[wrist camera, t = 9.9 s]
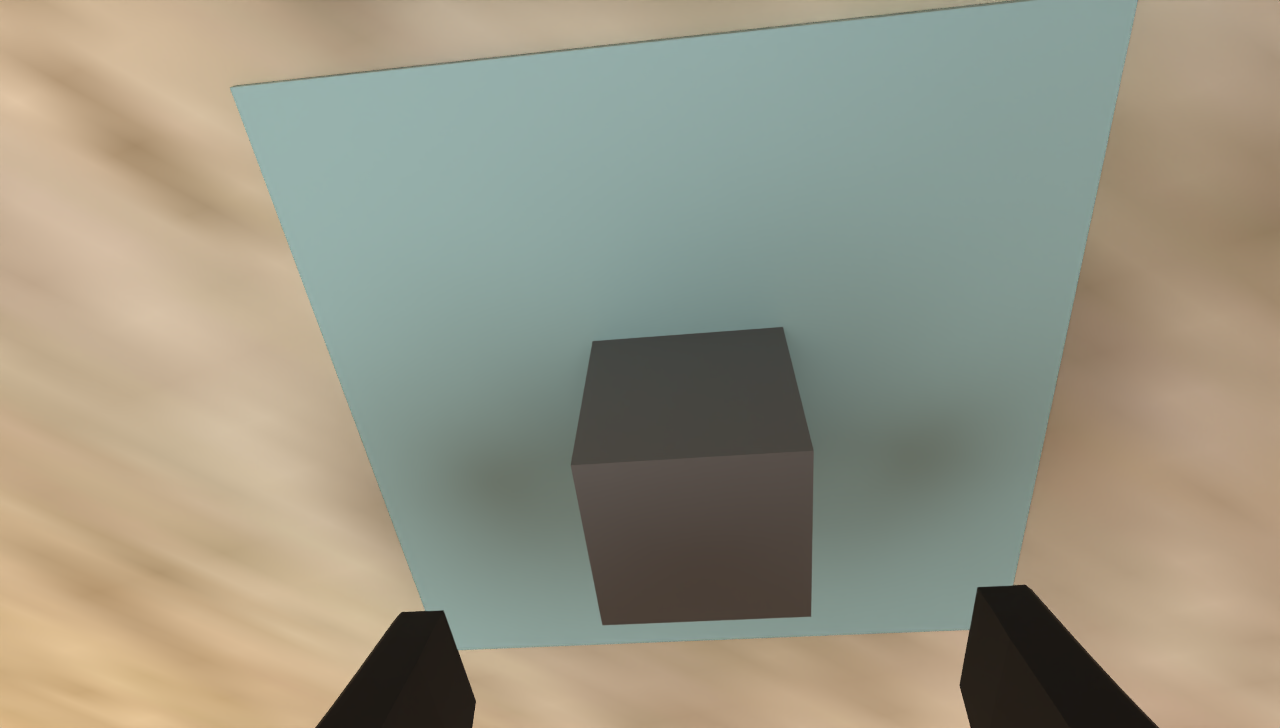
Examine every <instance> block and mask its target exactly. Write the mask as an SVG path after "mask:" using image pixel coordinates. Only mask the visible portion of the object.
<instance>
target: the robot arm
mask: <svg viewBox="0 0 1280 728" xmlns="http://www.w3.org/2000/svg"><path fill="white" fill-rule="evenodd" d="M960 689H961V693H962V696H963V700H964V704H965V708H966V712H967V715H968V719H969V723H970V727H971V728H1159V727H1158V726H1157V725H1156V724H1155V723H1154V722H1153V721H1152V720H1151V719H1150V718H1149V717H1148V716H1147V715H1146V714H1145V713H1144V712H1143V711H1142V710H1141V709H1140V708H1139V707H1138V706H1137V705H1136V704H1135V703H1134V702H1133V701H1132V700H1131V699H1130V697H1129V696H1128V695H1127V694H1126V693H1125V692H1124V691H1123V690H1122V689H1121V688H1120V687H1119V686H1118V685H1117V684H1116V683H1115V682H1114V681H1113V679H1112V678H1111V677H1110V676H1109V675H1108V674H1107V673H1106V672H1105V671H1104V670H1103V669H1102V667H1101V666H1100V665H1099V664H1098V663H1097V662H1096V661H1095V660H1094V659H1093V658H1092V657H1091V656H1090V654H1089V653H1088V652H1087V651H1086V650H1085V649H1084V648H1083V647H1082V646H1081V645H1080V643H1079V642H1078V641H1077V640H1076V639H1075V638H1074V637H1073V636H1072V635H1071V633H1070V632H1069V631H1068V630H1067V629H1066V628H1065V627H1064V626H1063V625H1062V623H1061V622H1060V621H1059V620H1058V619H1057V618H1056V617H1055V615H1054V614H1053V613H1052V612H1051V611H1050V610H1049V609H1048V608H1047V606H1046V605H1045V604H1044V603H1043V602H1042V601H1041V600H1040V599H1039V597H1038V596H1037V595H1036V594H1035V593H1034V592H1033V591H1032V590H1031V589H1030V588H1029V587H1028V586H1026V585H1013V586H990V587H977V592H976V597H975V603H974V608H973V614H972V619H971V625H970V631H969V636H968V642H967V647H966V653H965V658H964V664H963V669H962V675H961V680H960ZM475 704H476V700H475V697H474V695H473V692H472V689H471V686H470V683H469V680H468V678H467V675H466V672H465V669H464V666H463V663H462V661H461V658H460V655H459V652H458V649H457V646H456V644H455V641H454V638H453V635H452V632H451V629H450V627H449V624H448V621H447V618H446V615H445V613H444V610H439V611H416V612H401V613H400V614H399V615H398V616H397V618H396V619H395V620H394V621H393V623H392V624H391V626H390V627H389V628H388V630H387V631H386V632H385V634H384V635H383V637H382V638H381V639H380V641H379V642H378V644H377V645H376V646H375V648H374V649H373V651H372V652H371V653H370V655H369V656H368V657H367V659H366V660H365V662H364V663H363V664H362V666H361V667H360V669H359V670H358V671H357V673H356V674H355V675H354V677H353V678H352V679H351V681H350V682H349V684H348V685H347V686H346V688H345V689H344V690H343V692H342V693H341V694H340V696H339V697H338V698H337V700H336V701H335V703H334V704H333V705H332V707H331V708H330V709H329V711H328V712H327V713H326V714H325V716H324V717H323V718H322V720H321V721H320V722H319V724H318V725H317V726H316V727H315V728H472V725H473V718H474V711H475Z"/></svg>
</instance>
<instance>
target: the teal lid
mask: <svg viewBox="0 0 1280 728" xmlns="http://www.w3.org/2000/svg"><path fill="white" fill-rule="evenodd" d="M1137 2H1138V0H1014V1H1005V2H996V3H987V4H978V5H968V6H959V7H950V8H941V9H932V10H923V11H914V12H904V13H895V14H886V15H877V16H868V17H859V18H850V19H840V20H831V21H822V22H813V23H804V24H795V25H786V26H776V27H767V28H758V29H749V30H740V31H731V32H722V33H712V34H703V35H694V36H685V37H676V38H667V39H658V40H648V41H639V42H630V43H621V44H612V45H603V46H594V47H584V48H575V49H566V50H557V51H548V52H539V53H530V54H520V55H511V56H502V57H493V58H484V59H475V60H466V61H456V62H447V63H438V64H429V65H420V66H411V67H401V68H392V69H383V70H374V71H365V72H356V73H347V74H337V75H328V76H319V77H310V78H301V79H292V80H283V81H273V82H264V83H255V84H246V85H237V86H233V87H230V89H231V92H232V95H233V97H234V100H235V103H236V105H237V108H238V111H239V113H240V116H241V119H242V121H243V124H244V127H245V129H246V132H247V135H248V137H249V140H250V143H251V145H252V148H253V151H254V153H255V156H256V159H257V161H258V164H259V167H260V169H261V172H262V175H263V178H264V180H265V183H266V186H267V188H268V191H269V194H270V196H271V199H272V202H273V204H274V207H275V210H276V212H277V215H278V218H279V220H280V223H281V226H282V228H283V231H284V234H285V236H286V239H287V242H288V244H289V247H290V250H291V252H292V255H293V258H294V260H295V263H296V266H297V269H298V271H299V274H300V277H301V279H302V282H303V285H304V287H305V290H306V293H307V295H308V298H309V301H310V303H311V306H312V309H313V311H314V314H315V317H316V319H317V322H318V325H319V327H320V330H321V333H322V335H323V338H324V341H325V343H326V346H327V349H328V351H329V354H330V357H331V359H332V362H333V365H334V368H335V370H336V373H337V376H338V378H339V381H340V384H341V386H342V389H343V392H344V394H345V397H346V400H347V402H348V405H349V408H350V410H351V413H352V416H353V418H354V421H355V424H356V426H357V429H358V432H359V434H360V437H361V440H362V442H363V445H364V448H365V450H366V453H367V456H368V459H369V461H370V464H371V467H372V469H373V472H374V475H375V477H376V480H377V483H378V485H379V488H380V491H381V493H382V496H383V499H384V501H385V504H386V507H387V509H388V512H389V515H390V517H391V520H392V523H393V525H394V528H395V531H396V533H397V536H398V539H399V541H400V544H401V547H402V549H403V552H404V555H405V558H406V560H407V563H408V566H409V568H410V571H411V574H412V576H413V579H414V582H415V584H416V587H417V590H418V592H419V595H420V598H421V600H422V603H423V606H424V608H425V611H439V610H444V613H445V615H446V618H447V621H448V624H449V627H450V629H451V632H452V635H453V638H454V641H455V644H456V646H457V649H458V650H473V649H498V648H523V647H549V646H574V645H599V644H624V643H649V642H675V641H700V640H725V639H750V638H775V637H801V636H826V635H851V634H876V633H902V632H927V631H952V630H970V625H971V619H972V614H973V608H974V603H975V597H976V592H977V587H990V586H1013V584H1014V579H1015V574H1016V569H1017V565H1018V560H1019V555H1020V551H1021V546H1022V541H1023V537H1024V532H1025V527H1026V523H1027V518H1028V513H1029V509H1030V504H1031V499H1032V494H1033V490H1034V485H1035V480H1036V476H1037V471H1038V466H1039V462H1040V457H1041V452H1042V448H1043V443H1044V438H1045V433H1046V429H1047V424H1048V419H1049V415H1050V410H1051V405H1052V401H1053V396H1054V391H1055V387H1056V382H1057V377H1058V372H1059V368H1060V363H1061V358H1062V354H1063V349H1064V344H1065V340H1066V335H1067V330H1068V326H1069V321H1070V316H1071V311H1072V307H1073V302H1074V297H1075V293H1076V288H1077V283H1078V279H1079V274H1080V269H1081V265H1082V260H1083V255H1084V250H1085V246H1086V241H1087V236H1088V232H1089V227H1090V222H1091V218H1092V213H1093V208H1094V204H1095V199H1096V194H1097V189H1098V185H1099V180H1100V175H1101V171H1102V166H1103V161H1104V157H1105V152H1106V147H1107V143H1108V138H1109V133H1110V128H1111V124H1112V119H1113V114H1114V110H1115V105H1116V100H1117V96H1118V91H1119V86H1120V82H1121V77H1122V72H1123V67H1124V63H1125V58H1126V53H1127V49H1128V44H1129V39H1130V35H1131V30H1132V25H1133V21H1134V16H1135V11H1136V6H1137Z"/></svg>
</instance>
